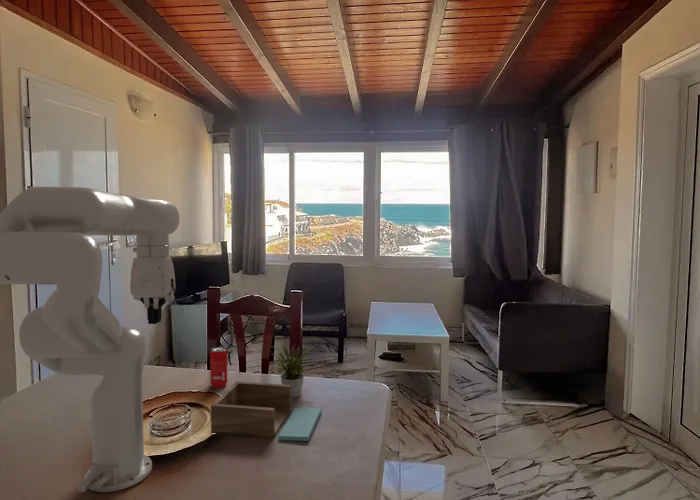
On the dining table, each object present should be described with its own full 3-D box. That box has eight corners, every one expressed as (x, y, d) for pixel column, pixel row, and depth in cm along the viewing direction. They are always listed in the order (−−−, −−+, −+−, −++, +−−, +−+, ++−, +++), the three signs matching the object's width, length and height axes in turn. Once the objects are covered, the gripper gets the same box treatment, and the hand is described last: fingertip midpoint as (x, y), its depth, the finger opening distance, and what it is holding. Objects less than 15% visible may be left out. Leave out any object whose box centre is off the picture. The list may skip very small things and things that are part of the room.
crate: (273, 441, 106) (273, 410, 106) (211, 436, 108) (210, 405, 108) (290, 412, 122) (290, 385, 121) (236, 408, 124) (236, 381, 123)
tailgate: (278, 440, 106) (308, 440, 105) (278, 436, 106) (308, 436, 105) (295, 410, 122) (321, 411, 121) (295, 407, 122) (321, 408, 121)
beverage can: (207, 387, 139) (206, 350, 138) (216, 381, 144) (216, 346, 143) (221, 389, 137) (221, 352, 136) (230, 383, 142) (230, 347, 141)
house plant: (256, 402, 128) (256, 348, 127) (275, 384, 142) (275, 335, 140) (301, 408, 125) (302, 352, 124) (316, 389, 138) (317, 339, 137)
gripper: (116, 252, 108) (118, 325, 110) (172, 254, 106) (173, 328, 108) (135, 250, 116) (136, 318, 117) (188, 251, 114) (189, 320, 115)
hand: (154, 322), depth 112 cm, fingers closed
